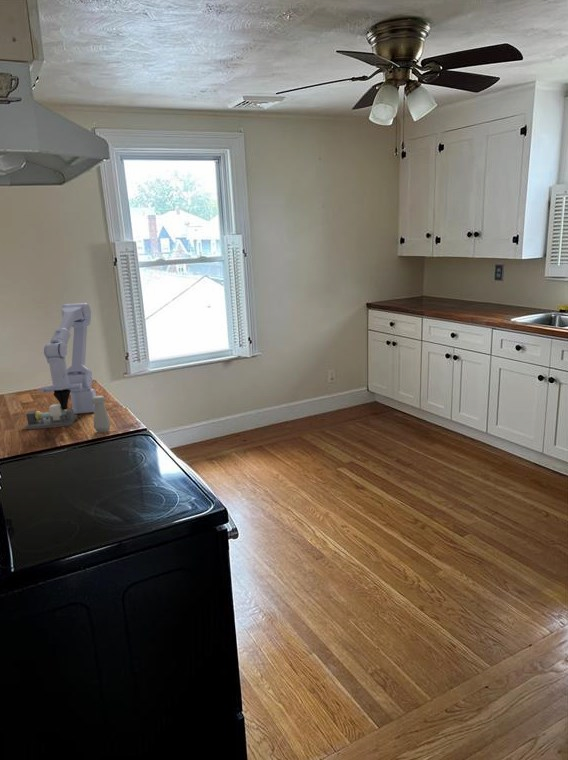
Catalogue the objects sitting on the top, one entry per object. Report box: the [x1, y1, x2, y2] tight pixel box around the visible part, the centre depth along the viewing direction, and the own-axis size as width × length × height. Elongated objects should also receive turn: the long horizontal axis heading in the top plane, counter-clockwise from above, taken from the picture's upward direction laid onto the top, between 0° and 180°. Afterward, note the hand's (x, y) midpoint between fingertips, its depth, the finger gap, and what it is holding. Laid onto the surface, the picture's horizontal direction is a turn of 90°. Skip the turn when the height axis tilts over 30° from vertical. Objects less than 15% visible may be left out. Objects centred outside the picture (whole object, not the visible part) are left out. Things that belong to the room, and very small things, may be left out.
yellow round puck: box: [35, 410, 42, 421], centre depth 205 cm, size 1×4×4 cm, turn 7°
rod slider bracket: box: [25, 408, 78, 430], centre depth 206 cm, size 16×10×5 cm, turn 97°
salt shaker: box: [92, 395, 112, 434], centre depth 192 cm, size 6×6×13 cm
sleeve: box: [48, 403, 65, 421], centre depth 206 cm, size 4×4×5 cm
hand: (65, 409), depth 206 cm, fingers closed
